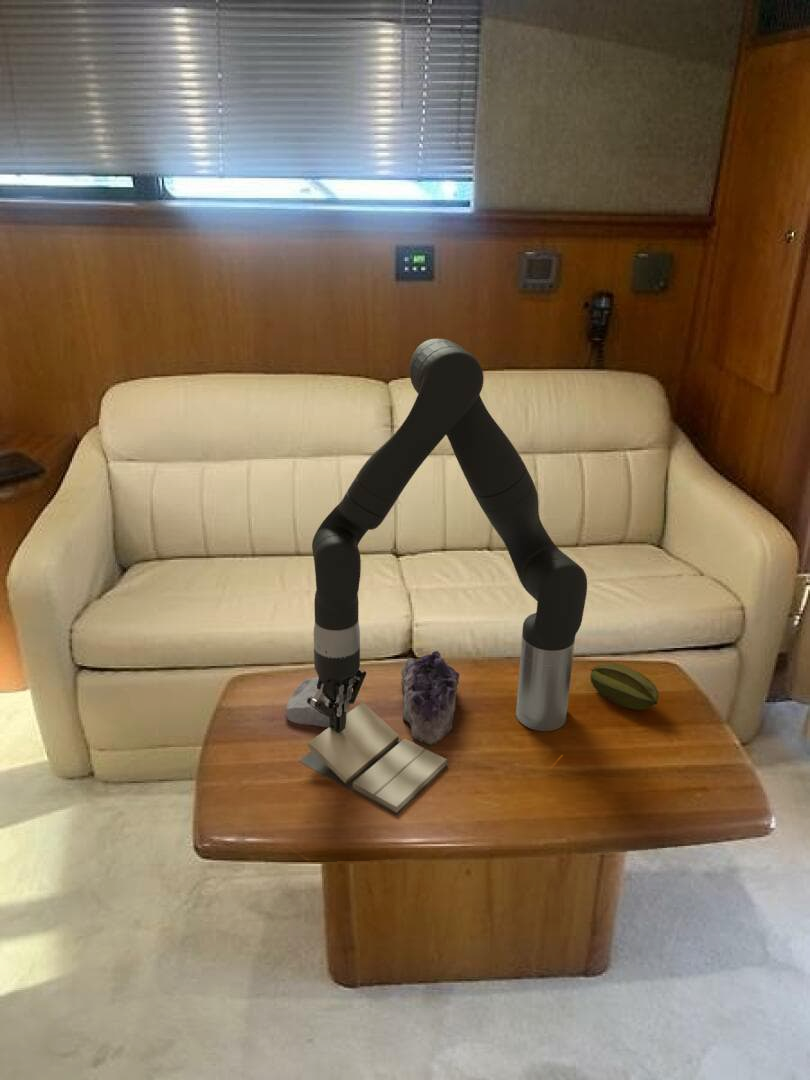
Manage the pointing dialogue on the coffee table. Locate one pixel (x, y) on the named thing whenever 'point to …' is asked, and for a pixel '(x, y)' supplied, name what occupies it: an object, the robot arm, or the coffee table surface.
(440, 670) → the geode
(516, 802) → the coffee table surface
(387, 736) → the beige flat rectangular panel
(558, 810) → the coffee table surface
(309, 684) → the stone block
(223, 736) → the coffee table surface
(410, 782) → the laid floor
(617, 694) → the fruit
